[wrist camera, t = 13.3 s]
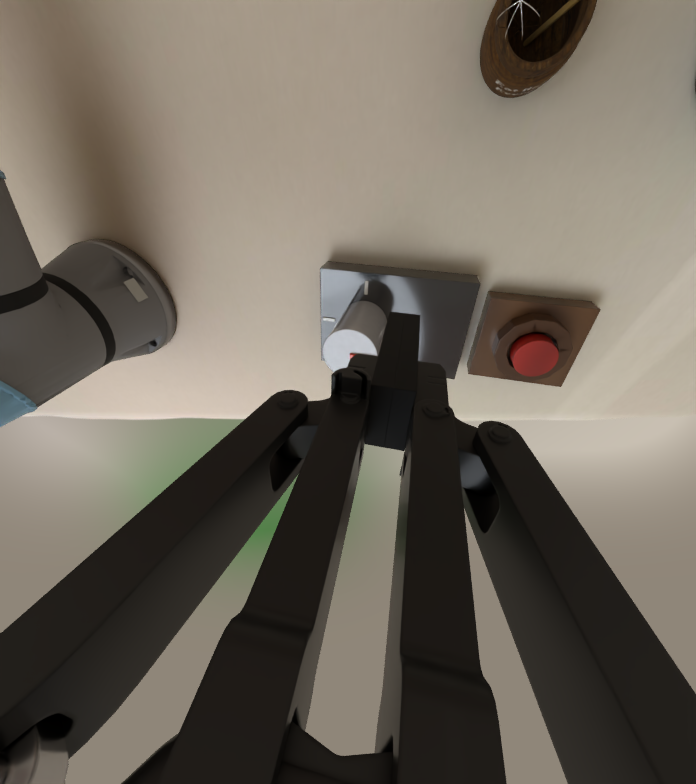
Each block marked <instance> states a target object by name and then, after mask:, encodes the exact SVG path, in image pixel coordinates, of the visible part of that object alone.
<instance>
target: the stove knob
mask: <svg viewBox="0 0 696 784" xmlns="http://www.w3.org/2000/svg"><path fill="white" fill-rule="evenodd" d="M386 324H387V319H386V316H385V314H384V312H383V311H382V309H381V308H380V307H378V306H377V305H376V304H374V303H372V302H368V301H357V302H354V303H352V304H350V305H349V306H348V307H347V308H346V309H345V310H344V312H343V313H342V315H341V317H340V318H339V320H338V321H337V323H336V325H335V326H334V328H333V329H332V331H331V333H330V334H329V336H328V337H327V339H326V341H325V343H324V345H323V357H324V360H325V362H326V364H327V366H328V367H329V368H330V369H331V370H332V371H333V372H335V371H336V370H338V369H341V368H346V367H347V366H348V363H349V361H350V358H352V357H353V356H355V355H356V354H357V353H358V354H366V355H373V356H378V355H379V351H380V347H381V343H382V339H383V336H384V332H385V328H386Z"/></svg>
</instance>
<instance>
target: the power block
mask: <svg viewBox="0 0 696 784" xmlns="http://www.w3.org/2000/svg"><path fill="white" fill-rule="evenodd" d="M599 312H600V309H599V308H598V307H597V306H596V305H595V304H594V303H593V302H590V301H580V300H570V299H560V298H550V297H540V296H530V295H520V294H510V293H500V292H491V291H488V294H487V297H486V301H485V304H484V308H483V311H482V314H481V318H480V321H479V325H478V328H477V332H476V335H475V339H474V342H473V345H472V349H471V352H470V356H469V359H468V363H467V368H468V374H473V375H480V376H487V377H494V378H501V379H508V380H515V381H523V382H530V383H537V384H544V385H551V386H558V387H561V386H562V384H563V382H564V380H565V378H566V376H567V374H568V372H569V370H570V368H571V366H572V364H573V362H574V361H575V359H576V357H577V355H578V353H579V351H580V349H581V347H582V345H583V343H584V341H585V339H586V337H587V335H588V333H589V331H590V329H591V327H592V325H593V323H594V321H595V319H596V318H597V316H598V314H599ZM532 333H539V334H543V335H546V336H548V337H549V338H550V339H551V340H552V342H553V343H554V345H555V346H556V348H557V350H558V352H559V358H558V361H557V363H556V365H555V366H554V367H553V368H552V369H551V370H550V371H548V372H547V373H545V374H542V375H539V376H525V375H522V374H520V373H518V372H517V371H516V370H515V368H514V366H513V364H512V361H511V358H510V349H511V347H512V345H513V344H514V343H515V342H516V341H517V340H518V339H519V338H521V337H523V336H525V335H527V334H532Z"/></svg>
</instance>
